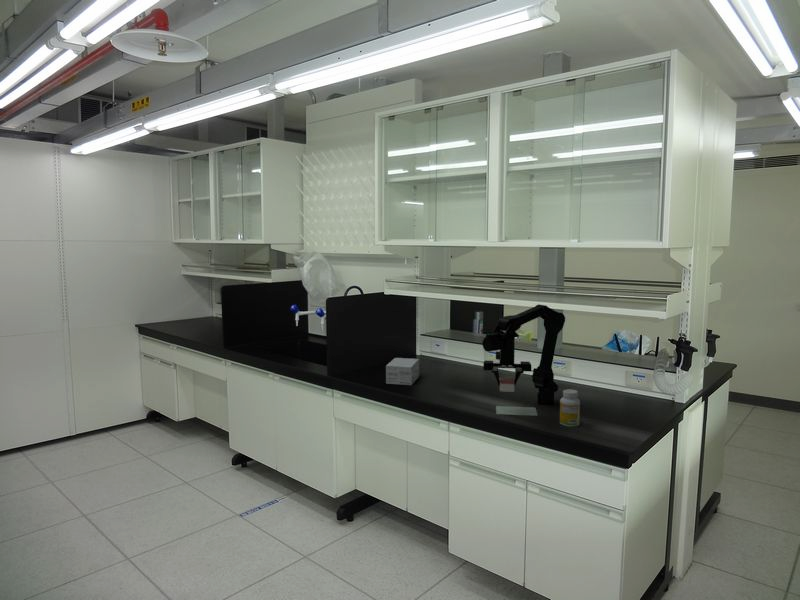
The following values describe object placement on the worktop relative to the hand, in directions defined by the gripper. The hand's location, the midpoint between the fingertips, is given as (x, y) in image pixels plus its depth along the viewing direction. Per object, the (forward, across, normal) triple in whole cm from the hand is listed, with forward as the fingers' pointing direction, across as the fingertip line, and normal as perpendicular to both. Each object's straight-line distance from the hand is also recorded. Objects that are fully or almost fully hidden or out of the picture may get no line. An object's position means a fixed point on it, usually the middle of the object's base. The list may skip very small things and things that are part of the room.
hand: (506, 386), depth 213 cm
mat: (+11, -4, -1) cm, 11 cm away
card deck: (+1, 0, 0) cm, 1 cm away
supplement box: (+11, +49, -44) cm, 67 cm away
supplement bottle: (+11, -23, +11) cm, 28 cm away
